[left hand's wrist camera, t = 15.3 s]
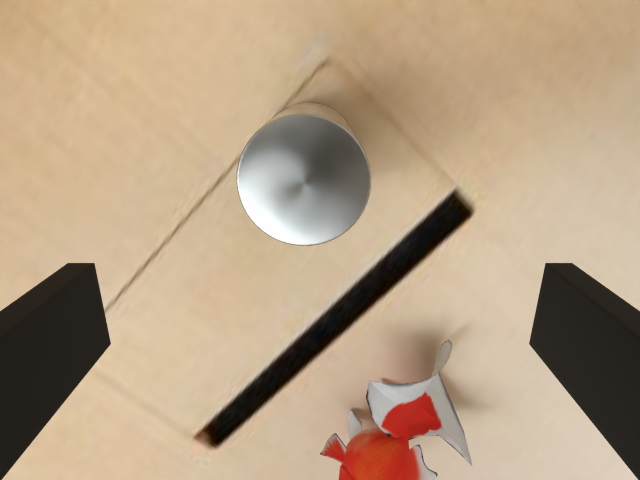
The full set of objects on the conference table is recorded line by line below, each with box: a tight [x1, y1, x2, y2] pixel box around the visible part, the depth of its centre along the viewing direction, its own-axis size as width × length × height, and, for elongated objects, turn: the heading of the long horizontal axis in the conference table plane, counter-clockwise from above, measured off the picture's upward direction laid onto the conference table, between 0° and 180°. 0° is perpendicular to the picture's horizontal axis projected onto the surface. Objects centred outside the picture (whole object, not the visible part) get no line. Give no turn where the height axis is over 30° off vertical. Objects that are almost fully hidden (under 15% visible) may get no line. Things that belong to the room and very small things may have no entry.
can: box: [237, 103, 371, 246], centre depth 25 cm, size 6×6×10 cm
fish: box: [320, 340, 472, 480], centre depth 33 cm, size 11×16×10 cm
